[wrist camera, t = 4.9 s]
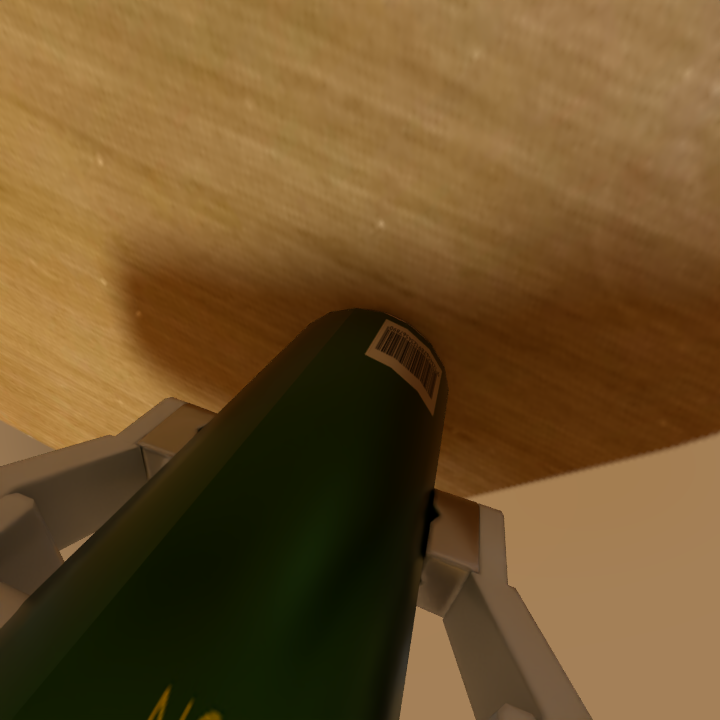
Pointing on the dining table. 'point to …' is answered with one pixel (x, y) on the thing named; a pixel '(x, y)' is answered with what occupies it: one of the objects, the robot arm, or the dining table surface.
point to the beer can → (256, 552)
